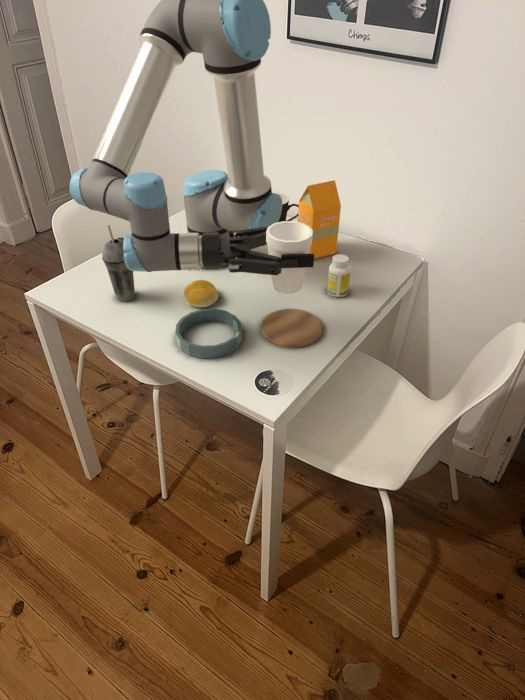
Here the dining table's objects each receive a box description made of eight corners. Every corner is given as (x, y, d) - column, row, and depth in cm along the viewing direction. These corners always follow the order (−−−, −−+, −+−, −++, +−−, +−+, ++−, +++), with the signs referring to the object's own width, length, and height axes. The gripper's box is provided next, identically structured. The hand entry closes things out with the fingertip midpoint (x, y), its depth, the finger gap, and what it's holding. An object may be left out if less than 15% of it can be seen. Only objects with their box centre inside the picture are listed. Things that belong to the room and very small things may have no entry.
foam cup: (305, 300, 111) (309, 244, 103) (262, 295, 112) (262, 239, 104) (311, 277, 118) (315, 223, 110) (270, 272, 119) (271, 219, 111)
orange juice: (296, 248, 153) (299, 180, 140) (322, 241, 156) (327, 175, 144) (310, 260, 148) (314, 191, 135) (336, 253, 151) (343, 185, 138)
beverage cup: (145, 291, 135) (133, 218, 122) (131, 307, 130) (116, 232, 117) (120, 286, 137) (106, 214, 124) (105, 301, 132) (88, 227, 119)
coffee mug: (254, 232, 161) (254, 201, 154) (269, 221, 166) (269, 191, 160) (287, 241, 156) (288, 210, 150) (301, 230, 162) (303, 199, 155)
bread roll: (190, 311, 128) (189, 298, 126) (182, 292, 135) (180, 279, 132) (223, 305, 130) (222, 291, 128) (213, 286, 137) (212, 273, 134)
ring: (163, 339, 120) (162, 329, 118) (209, 311, 128) (208, 301, 126) (208, 367, 112) (208, 356, 110) (254, 336, 121) (254, 325, 119)
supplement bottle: (348, 287, 137) (352, 253, 131) (347, 298, 133) (351, 264, 127) (327, 285, 138) (330, 251, 131) (325, 296, 133) (329, 262, 127)
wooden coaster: (249, 330, 122) (249, 327, 122) (287, 304, 131) (287, 302, 130) (296, 356, 115) (296, 353, 115) (333, 327, 124) (334, 324, 123)
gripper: (204, 242, 119) (302, 240, 121) (201, 296, 102) (316, 292, 104) (201, 211, 115) (304, 209, 116) (198, 262, 98) (319, 258, 99)
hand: (310, 248), depth 110 cm, fingers closed on foam cup, 9 cm apart
